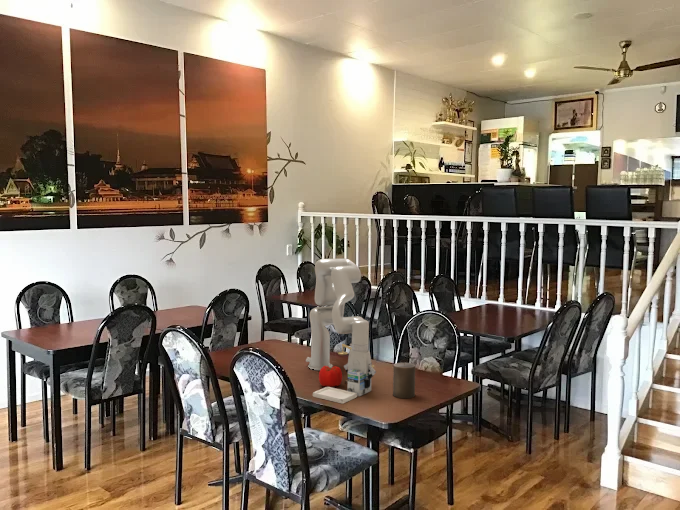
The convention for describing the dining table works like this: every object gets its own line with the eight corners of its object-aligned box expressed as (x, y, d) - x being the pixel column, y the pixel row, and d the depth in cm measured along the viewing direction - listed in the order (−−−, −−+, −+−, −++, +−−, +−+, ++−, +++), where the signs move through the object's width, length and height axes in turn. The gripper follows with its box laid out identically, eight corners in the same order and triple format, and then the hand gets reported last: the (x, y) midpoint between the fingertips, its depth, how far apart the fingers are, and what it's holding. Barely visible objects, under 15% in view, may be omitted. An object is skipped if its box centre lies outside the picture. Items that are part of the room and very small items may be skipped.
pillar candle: (414, 399, 258) (415, 365, 257) (391, 397, 260) (392, 364, 259) (415, 393, 268) (416, 360, 267) (393, 391, 269) (394, 358, 268)
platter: (312, 396, 260) (312, 392, 260) (327, 390, 269) (327, 386, 269) (342, 403, 251) (342, 399, 251) (357, 397, 260) (357, 393, 260)
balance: (334, 381, 284) (335, 344, 283) (342, 378, 289) (342, 342, 288) (370, 388, 273) (370, 350, 271) (376, 385, 278) (377, 347, 276)
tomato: (315, 388, 272) (315, 369, 271) (323, 381, 284) (323, 362, 283) (338, 390, 269) (338, 371, 268) (345, 383, 281) (345, 364, 280)
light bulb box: (359, 396, 261) (360, 372, 260) (346, 394, 265) (347, 370, 264) (371, 390, 270) (372, 367, 269) (359, 388, 273) (359, 365, 273)
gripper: (339, 346, 268) (338, 384, 269) (372, 351, 258) (371, 391, 259) (348, 343, 274) (348, 380, 275) (381, 348, 264) (380, 387, 265)
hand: (359, 385), depth 267 cm, fingers open, 7 cm apart
